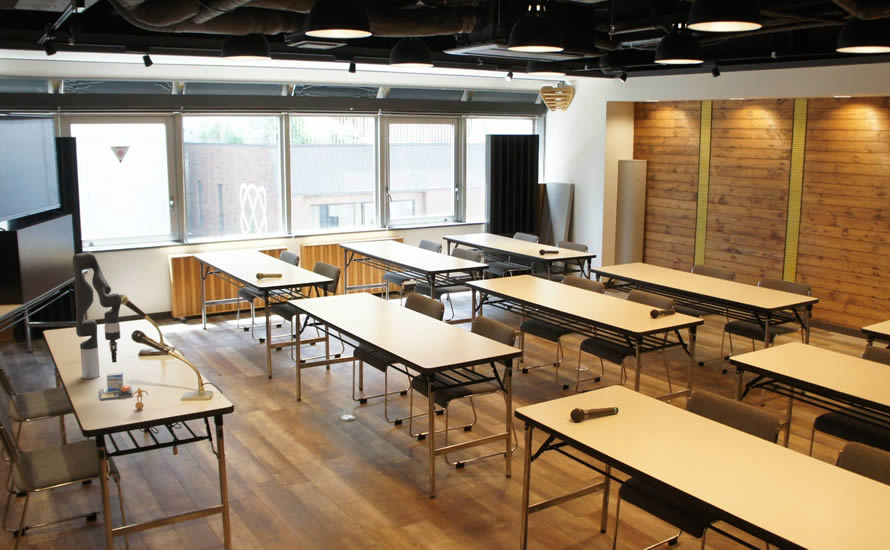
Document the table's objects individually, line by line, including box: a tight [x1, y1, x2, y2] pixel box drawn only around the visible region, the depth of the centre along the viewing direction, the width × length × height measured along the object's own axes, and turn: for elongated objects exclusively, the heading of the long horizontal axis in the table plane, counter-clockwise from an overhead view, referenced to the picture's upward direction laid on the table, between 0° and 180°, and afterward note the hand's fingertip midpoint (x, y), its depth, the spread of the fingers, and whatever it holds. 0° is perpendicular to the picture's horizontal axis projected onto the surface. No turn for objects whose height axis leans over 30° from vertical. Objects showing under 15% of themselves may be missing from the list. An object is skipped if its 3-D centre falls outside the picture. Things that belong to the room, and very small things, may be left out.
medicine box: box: [106, 372, 125, 391], centre depth 423 cm, size 8×4×9 cm, turn 109°
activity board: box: [99, 385, 134, 401], centre depth 420 cm, size 17×16×2 cm
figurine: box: [130, 387, 149, 410], centre depth 395 cm, size 8×6×12 cm
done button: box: [121, 385, 131, 392], centre depth 417 cm, size 4×4×2 cm
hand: (114, 360), depth 420 cm, fingers open, 5 cm apart
